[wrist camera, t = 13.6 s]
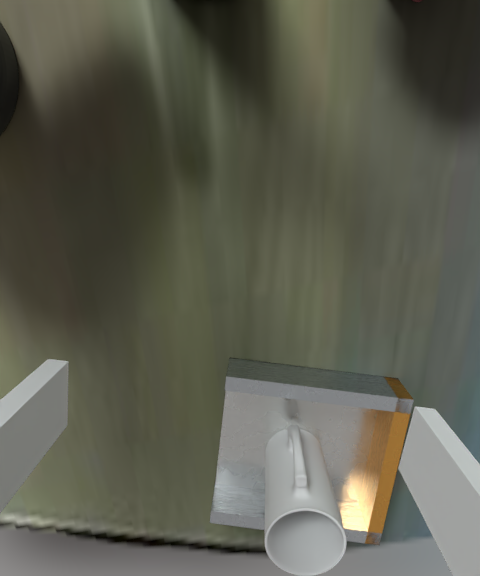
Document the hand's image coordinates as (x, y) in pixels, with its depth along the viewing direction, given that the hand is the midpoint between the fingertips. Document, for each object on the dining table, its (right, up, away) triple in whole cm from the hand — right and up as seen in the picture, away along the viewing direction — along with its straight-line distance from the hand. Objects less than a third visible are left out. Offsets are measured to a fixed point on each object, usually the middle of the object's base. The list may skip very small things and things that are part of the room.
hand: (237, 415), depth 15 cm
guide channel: (+7, -12, +30) cm, 33 cm away
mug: (+6, -12, +29) cm, 32 cm away
